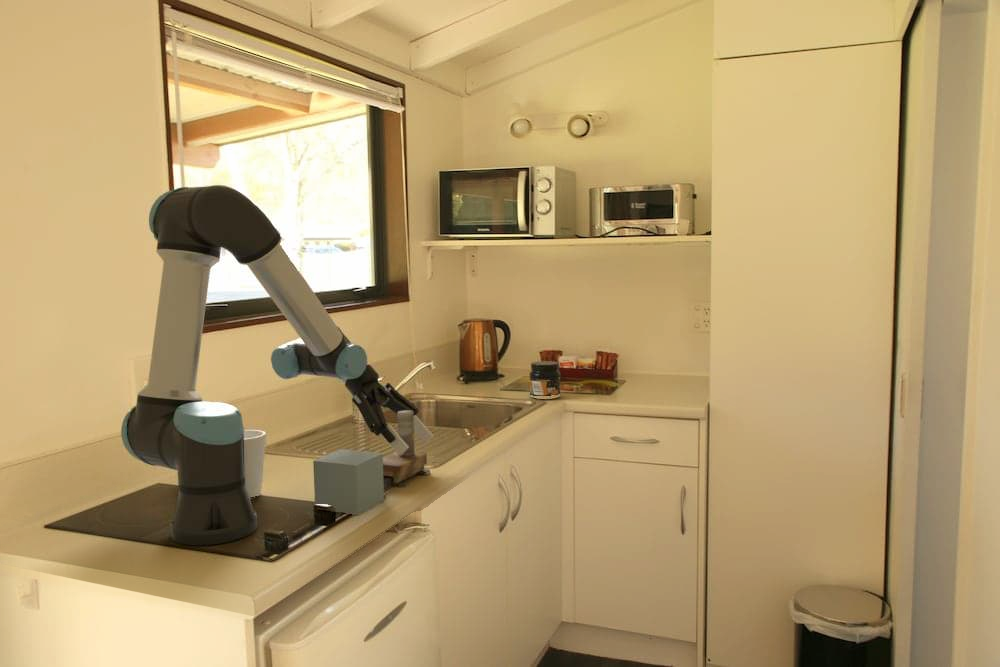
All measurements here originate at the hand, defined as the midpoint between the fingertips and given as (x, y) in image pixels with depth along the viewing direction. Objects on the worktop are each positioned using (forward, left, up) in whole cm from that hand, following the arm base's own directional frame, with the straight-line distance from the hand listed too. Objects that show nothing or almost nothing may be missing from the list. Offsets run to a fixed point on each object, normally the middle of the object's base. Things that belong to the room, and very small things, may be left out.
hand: (417, 445), depth 183 cm
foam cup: (-25, +28, -7) cm, 38 cm away
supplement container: (+100, +6, -7) cm, 100 cm away
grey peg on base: (-3, +3, -7) cm, 8 cm away
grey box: (-23, +3, -7) cm, 24 cm away
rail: (-7, +3, -7) cm, 11 cm away
